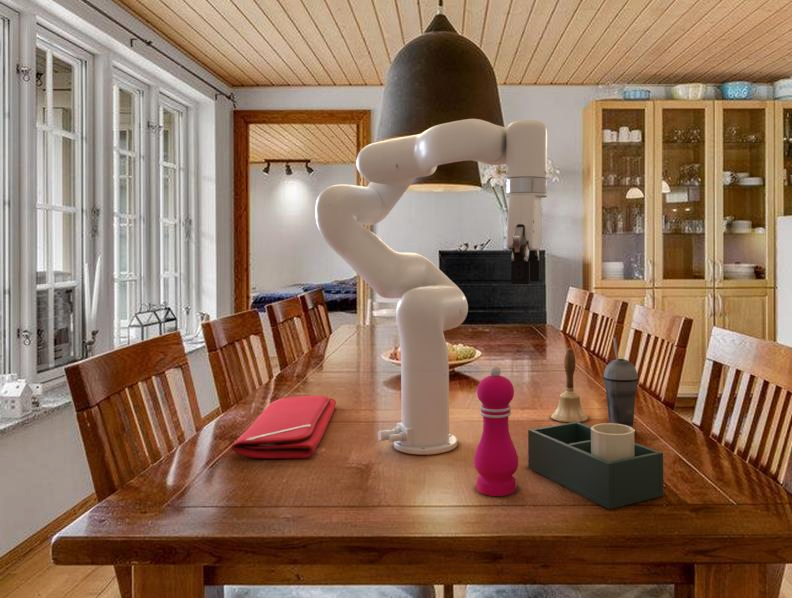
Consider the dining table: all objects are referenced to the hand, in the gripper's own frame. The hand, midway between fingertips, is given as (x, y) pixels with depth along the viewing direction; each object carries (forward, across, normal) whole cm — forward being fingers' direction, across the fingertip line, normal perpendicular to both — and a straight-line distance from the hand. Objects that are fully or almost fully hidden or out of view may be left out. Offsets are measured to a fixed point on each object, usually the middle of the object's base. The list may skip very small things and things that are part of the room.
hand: (525, 282), depth 121 cm
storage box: (+33, +6, +13) cm, 36 cm away
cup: (+32, +10, +16) cm, 37 cm away
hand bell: (+33, -33, +4) cm, 47 cm away
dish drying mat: (+34, -7, -53) cm, 63 cm away
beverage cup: (+33, -24, +16) cm, 44 cm away
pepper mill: (+33, +15, -2) cm, 36 cm away
